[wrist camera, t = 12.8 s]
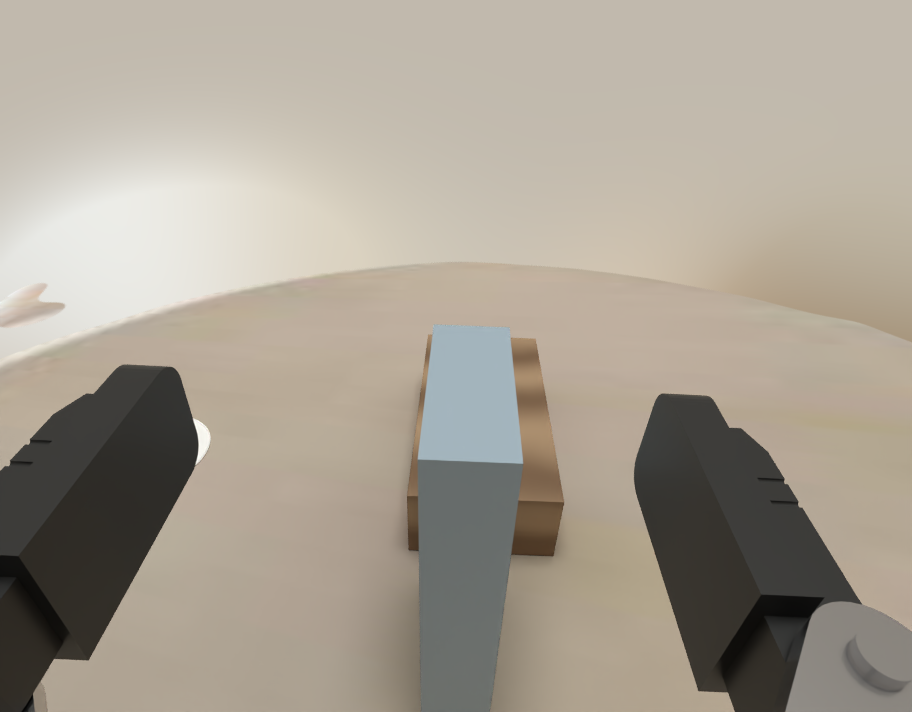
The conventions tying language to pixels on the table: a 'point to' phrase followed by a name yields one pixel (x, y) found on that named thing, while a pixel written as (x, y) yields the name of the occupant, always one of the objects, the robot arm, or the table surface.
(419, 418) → the slot box
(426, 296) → the table surface
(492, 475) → the cover panel
